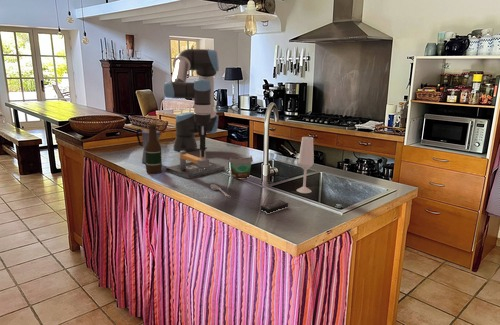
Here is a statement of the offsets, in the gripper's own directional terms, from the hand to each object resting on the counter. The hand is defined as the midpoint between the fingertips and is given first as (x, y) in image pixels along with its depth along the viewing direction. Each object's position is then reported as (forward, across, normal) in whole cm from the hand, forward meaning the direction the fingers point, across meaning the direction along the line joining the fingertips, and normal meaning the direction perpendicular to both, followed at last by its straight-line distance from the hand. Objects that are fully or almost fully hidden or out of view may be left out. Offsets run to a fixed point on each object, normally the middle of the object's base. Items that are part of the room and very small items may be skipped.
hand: (202, 162), depth 178 cm
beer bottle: (+8, -11, -24) cm, 28 cm away
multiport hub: (+8, +42, +27) cm, 51 cm away
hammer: (+5, -1, -5) cm, 7 cm away
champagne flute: (+8, +21, +45) cm, 50 cm away
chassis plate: (+8, -13, -4) cm, 16 cm away
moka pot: (+8, -31, -29) cm, 43 cm away
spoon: (+8, +23, +8) cm, 25 cm away
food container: (+8, 0, +20) cm, 21 cm away
